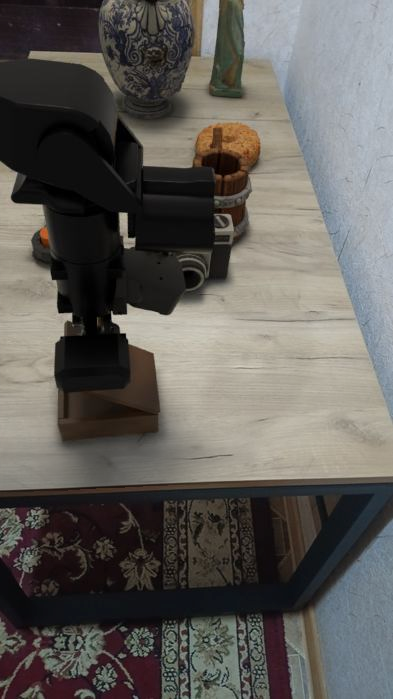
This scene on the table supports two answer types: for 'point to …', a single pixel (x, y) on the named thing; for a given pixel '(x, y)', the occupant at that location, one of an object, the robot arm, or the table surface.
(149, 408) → the lid
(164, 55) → the decorative vase
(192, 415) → the table surface
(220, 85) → the statue
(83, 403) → the chest
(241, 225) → the mug
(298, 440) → the table surface
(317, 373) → the table surface
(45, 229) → the button
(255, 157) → the bagel
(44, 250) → the block
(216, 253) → the camera
